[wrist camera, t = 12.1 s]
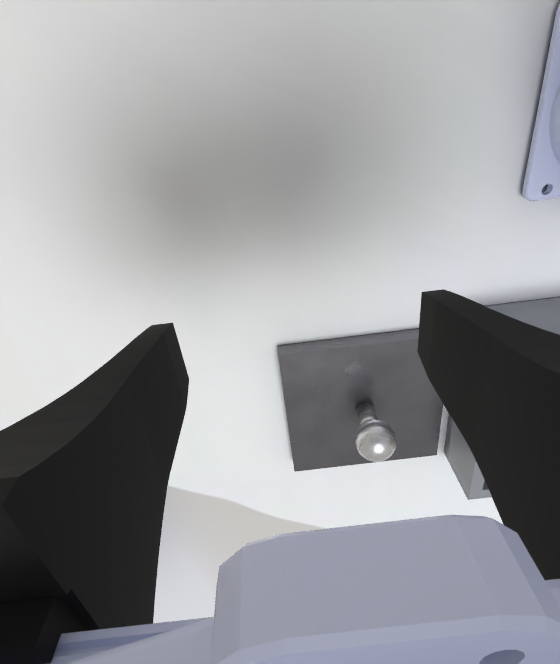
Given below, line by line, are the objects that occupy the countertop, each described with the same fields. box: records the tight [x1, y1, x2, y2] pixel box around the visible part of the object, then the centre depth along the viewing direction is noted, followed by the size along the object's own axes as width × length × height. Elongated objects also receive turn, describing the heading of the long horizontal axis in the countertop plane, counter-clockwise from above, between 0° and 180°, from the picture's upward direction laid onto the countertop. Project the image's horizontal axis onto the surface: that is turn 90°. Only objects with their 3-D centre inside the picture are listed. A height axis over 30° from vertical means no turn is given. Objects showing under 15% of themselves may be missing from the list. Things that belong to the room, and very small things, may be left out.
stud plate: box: [278, 329, 443, 471], centre depth 25 cm, size 10×10×5 cm
